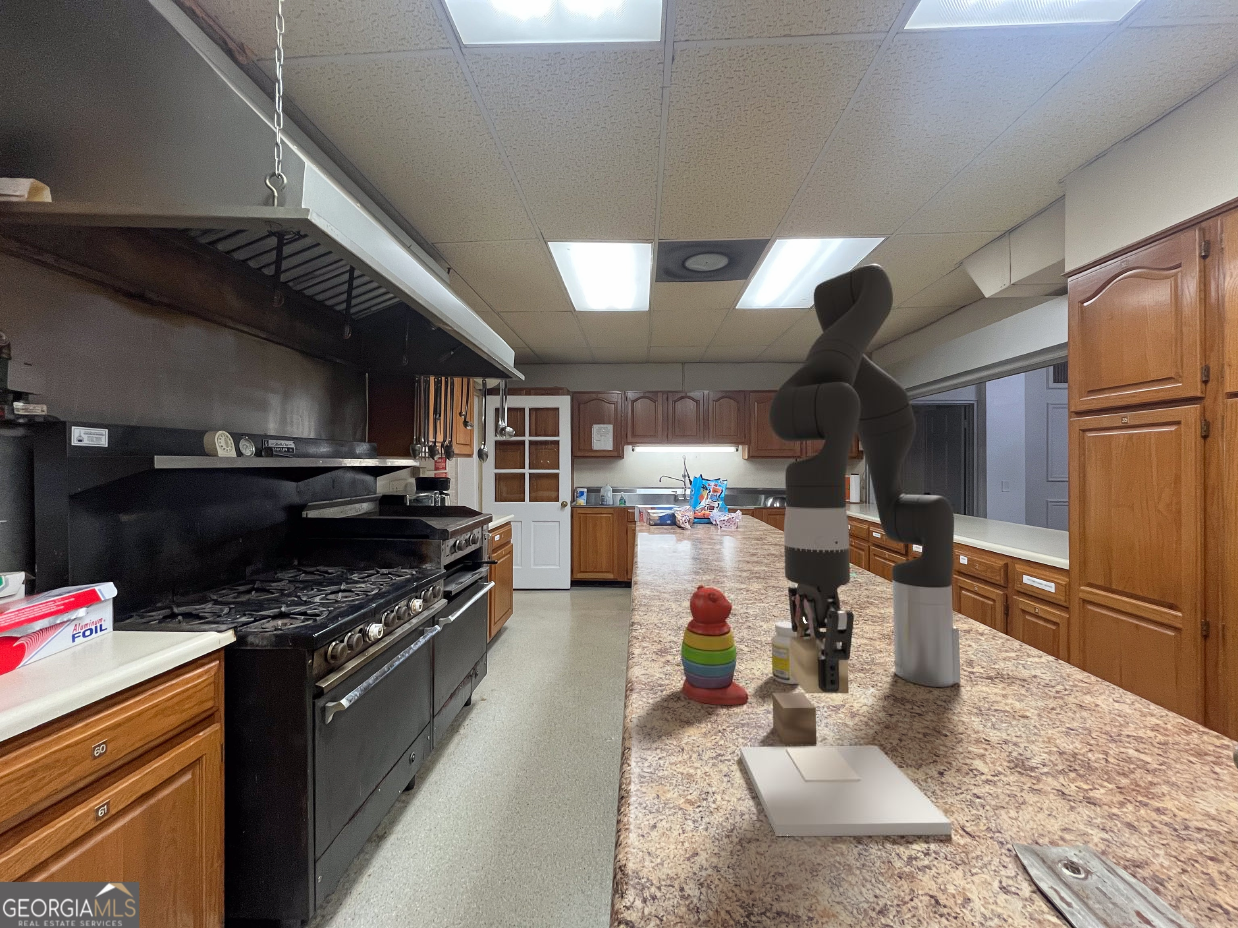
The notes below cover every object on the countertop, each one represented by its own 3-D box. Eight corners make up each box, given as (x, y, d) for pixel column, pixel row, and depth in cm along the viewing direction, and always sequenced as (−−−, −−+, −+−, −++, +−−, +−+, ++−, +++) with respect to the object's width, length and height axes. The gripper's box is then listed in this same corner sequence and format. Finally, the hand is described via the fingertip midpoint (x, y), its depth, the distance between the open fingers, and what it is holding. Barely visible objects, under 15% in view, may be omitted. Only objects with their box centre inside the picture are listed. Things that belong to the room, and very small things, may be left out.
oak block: (829, 675, 61) (828, 636, 61) (848, 693, 56) (847, 650, 56) (791, 675, 61) (790, 636, 61) (806, 693, 56) (805, 650, 56)
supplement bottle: (798, 672, 89) (797, 620, 89) (807, 685, 83) (806, 629, 84) (769, 672, 89) (768, 619, 90) (776, 684, 84) (774, 628, 84)
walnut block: (803, 727, 69) (802, 692, 70) (816, 744, 65) (815, 707, 65) (773, 727, 69) (772, 693, 70) (783, 744, 65) (783, 707, 65)
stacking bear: (752, 704, 77) (750, 593, 77) (692, 709, 75) (691, 596, 76) (727, 676, 87) (725, 579, 88) (674, 680, 86) (673, 582, 86)
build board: (876, 754, 62) (876, 743, 62) (951, 834, 48) (951, 820, 48) (740, 756, 62) (740, 745, 62) (776, 836, 48) (775, 822, 48)
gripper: (877, 551, 52) (881, 708, 51) (821, 536, 66) (823, 658, 66) (809, 551, 52) (812, 708, 51) (767, 536, 66) (769, 659, 66)
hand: (818, 679), depth 59 cm, fingers closed on oak block, 5 cm apart
